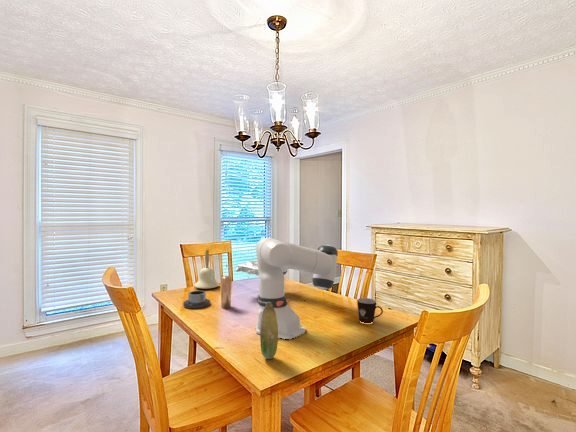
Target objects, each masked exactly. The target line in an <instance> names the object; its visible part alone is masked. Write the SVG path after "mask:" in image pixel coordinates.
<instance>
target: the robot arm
mask: <svg viewBox="0 0 576 432" xmlns="http://www.w3.org/2000/svg"><path fill="white" fill-rule="evenodd" d="M255 253H256V260H247V262H246V261H245V262H241V263H238V264H237V265H236V268H235V272H237V273H238V272H242V273H247V274H248V275H255V276H258V279H259V282H258V284H259V285H258V287H259V289H258V290H259V291H258V292H259V293H258V296H257V304H258V311H257V319H256V322H255V326H254V327H255V330H256V331H255V334H257V335H260V327H261V317H262V312H263V310H264V308H265V305H266V303H267V302H271V303H272V304H273V307H274V310H275V312H276V317H277V324H278V339H280V338H282V339H281V340H285V339H289V340H293V339H292V338H294V339H296V338H298V337H297V336H299V335H300V336H302V335H304V334H305V333H306V331H305V330H307V329H306V327H305V326H303V325H301V320H300V319H301V318H300V316H299V314H298V313H296V312H295V311H294V310H293V309H292V307H291V306H289V304H288V302H290V298H287V297H286V295H285V275H286V274H287V273H288V272H289V271H288V270H289V269H290V270H295V271H299V273H300V274H301V276H303V278H305V279H309V280H312V285H313V287H315V288H317V289H319V290H321V291H322V290H323V291H324V290H330V289H331V288H333V286H334V283H335V281H334V280H335V277H336V274H337V273H336V272H337V266H338V255H339V254H338V253H339V252H338V250H337V248H336V247H334V246H332V245H331V244H325V245H320V246H319V247H318V248H317V249H315V248H311V247H307V246H302V245H300V244H294V243H290V242H286V241H283V240H278V239H276V238H273V237H264V238H262V239H260V240H258V242H257V243H256V245H255ZM301 334H302V335H301ZM300 336H299V337H300ZM295 337H296V338H295Z"/></svg>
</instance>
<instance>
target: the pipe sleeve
mask: <svg viewBox="0 0 576 432" xmlns="http://www.w3.org/2000/svg"><path fill="white" fill-rule="evenodd" d="M206 294H207V293H206V291H205V290H192V291H190V292H188V293H187V295H188V297H187V298H188V299H186V300H185V301H183V302H182V307H183V308H185V309H189V310H199V309H205V308H208V307H210V306H211V300H210V299H208V298H207V297H206Z"/></svg>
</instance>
